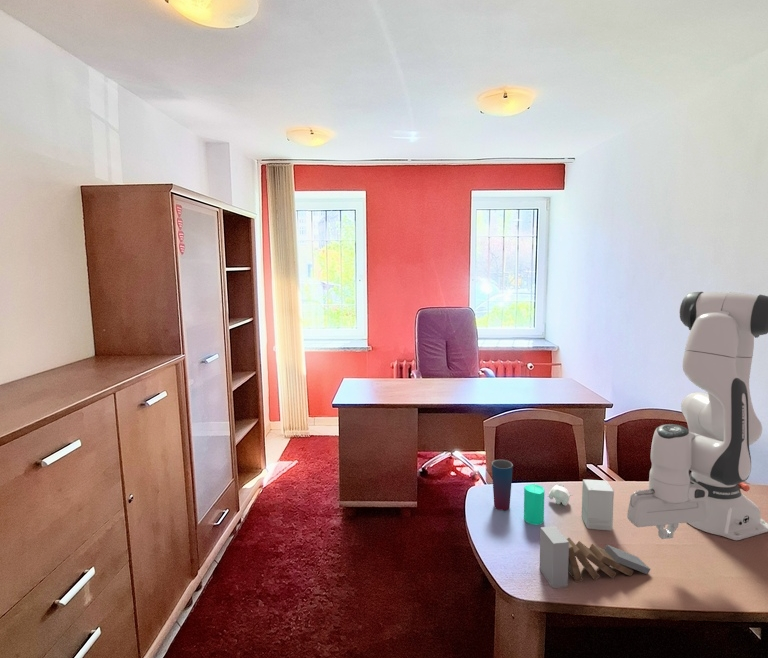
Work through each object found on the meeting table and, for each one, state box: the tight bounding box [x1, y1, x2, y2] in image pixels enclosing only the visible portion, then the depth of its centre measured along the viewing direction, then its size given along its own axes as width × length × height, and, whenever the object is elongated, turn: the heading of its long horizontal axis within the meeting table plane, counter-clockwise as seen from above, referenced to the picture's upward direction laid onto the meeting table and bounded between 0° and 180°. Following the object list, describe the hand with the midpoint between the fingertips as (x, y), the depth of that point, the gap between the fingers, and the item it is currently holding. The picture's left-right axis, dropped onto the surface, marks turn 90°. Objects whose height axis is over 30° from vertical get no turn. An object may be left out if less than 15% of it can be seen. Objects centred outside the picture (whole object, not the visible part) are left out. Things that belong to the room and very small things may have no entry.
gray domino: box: [604, 544, 651, 575], centre depth 117 cm, size 2×5×10 cm
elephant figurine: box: [547, 482, 573, 507], centre depth 150 cm, size 7×8×6 cm
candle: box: [523, 483, 545, 526], centre depth 140 cm, size 6×6×12 cm
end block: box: [539, 525, 569, 589], centre depth 114 cm, size 4×7×12 cm, turn 6°
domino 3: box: [575, 540, 617, 579], centre depth 115 cm, size 2×5×10 cm
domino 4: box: [588, 543, 634, 577], centre depth 116 cm, size 2×5×10 cm
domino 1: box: [568, 543, 583, 583], centre depth 115 cm, size 2×5×10 cm, turn 6°
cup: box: [491, 459, 514, 511], centre depth 148 cm, size 7×7×15 cm
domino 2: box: [566, 537, 601, 581], centre depth 115 cm, size 2×5×10 cm
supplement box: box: [581, 479, 615, 531], centre depth 137 cm, size 7×7×13 cm
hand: (665, 537), depth 117 cm, fingers closed
